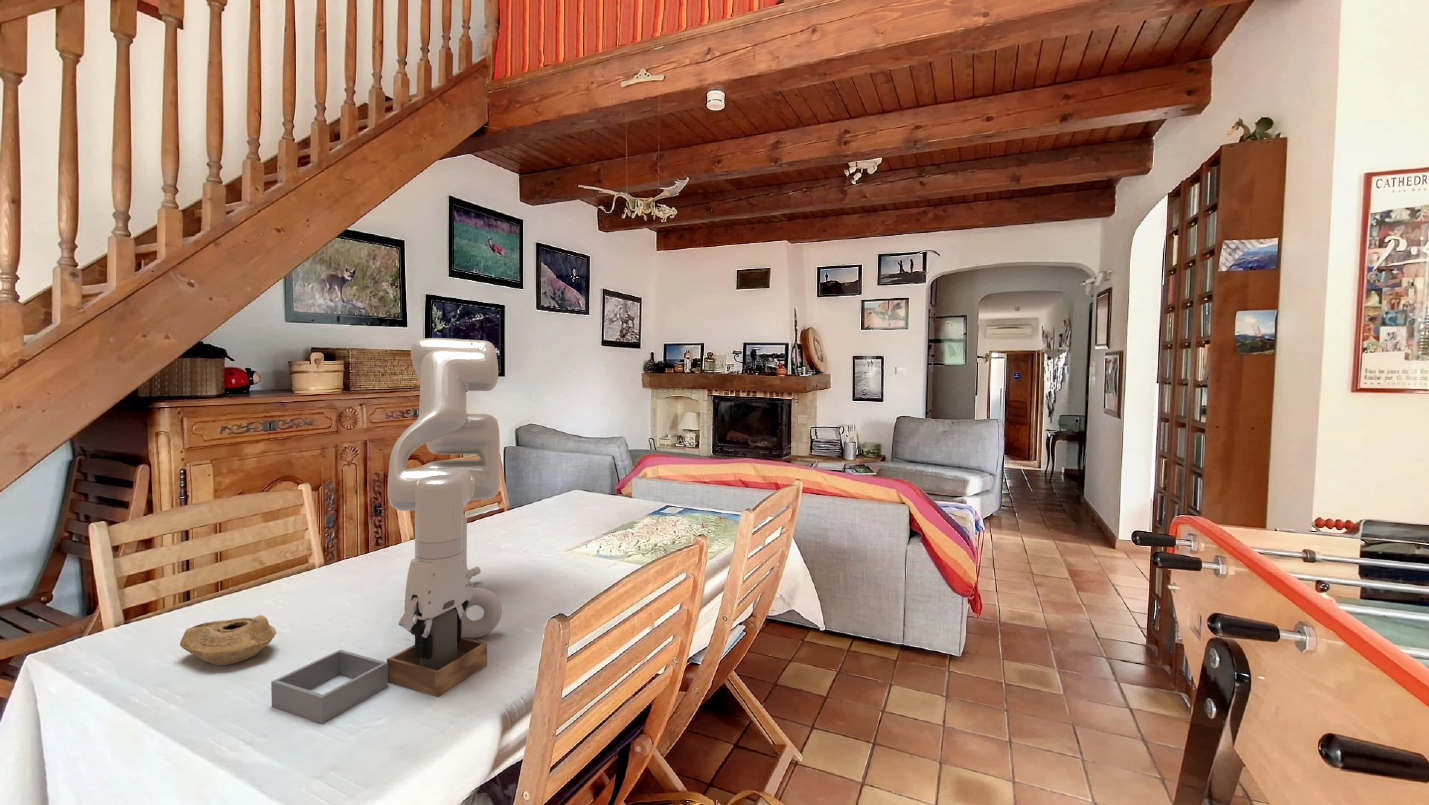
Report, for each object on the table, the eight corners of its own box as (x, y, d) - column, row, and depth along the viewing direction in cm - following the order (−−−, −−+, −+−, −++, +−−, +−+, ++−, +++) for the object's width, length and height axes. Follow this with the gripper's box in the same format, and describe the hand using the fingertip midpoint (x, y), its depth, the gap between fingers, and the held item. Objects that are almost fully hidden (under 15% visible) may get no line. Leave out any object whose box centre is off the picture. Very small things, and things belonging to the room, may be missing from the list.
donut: (502, 631, 117) (502, 583, 117) (500, 639, 114) (501, 589, 113) (449, 635, 115) (449, 586, 114) (446, 643, 111) (446, 593, 111)
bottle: (442, 684, 97) (442, 597, 96) (412, 679, 98) (412, 593, 98) (463, 667, 103) (464, 585, 102) (435, 662, 104) (435, 581, 103)
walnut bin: (439, 652, 108) (439, 631, 108) (486, 664, 104) (487, 643, 104) (386, 682, 97) (386, 659, 97) (437, 696, 94) (437, 673, 93)
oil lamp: (198, 647, 107) (197, 605, 107) (289, 641, 110) (289, 600, 110) (155, 678, 96) (154, 632, 96) (258, 670, 100) (257, 625, 99)
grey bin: (340, 671, 100) (340, 649, 100) (387, 686, 96) (387, 662, 96) (271, 706, 90) (271, 681, 89) (322, 723, 86) (321, 697, 86)
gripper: (460, 532, 109) (459, 624, 110) (378, 559, 93) (379, 667, 94) (491, 537, 106) (490, 632, 107) (414, 565, 90) (413, 677, 91)
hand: (438, 647), depth 100 cm, fingers closed on bottle, 5 cm apart
